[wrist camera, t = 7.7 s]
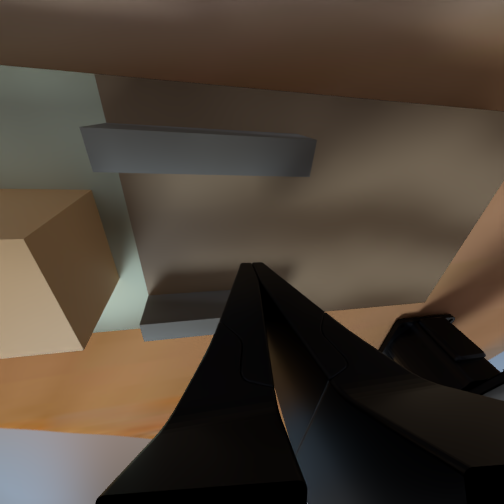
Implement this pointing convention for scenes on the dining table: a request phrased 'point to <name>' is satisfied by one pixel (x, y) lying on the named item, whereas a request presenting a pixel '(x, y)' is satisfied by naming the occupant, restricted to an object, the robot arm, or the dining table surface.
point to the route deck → (252, 188)
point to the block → (51, 270)
